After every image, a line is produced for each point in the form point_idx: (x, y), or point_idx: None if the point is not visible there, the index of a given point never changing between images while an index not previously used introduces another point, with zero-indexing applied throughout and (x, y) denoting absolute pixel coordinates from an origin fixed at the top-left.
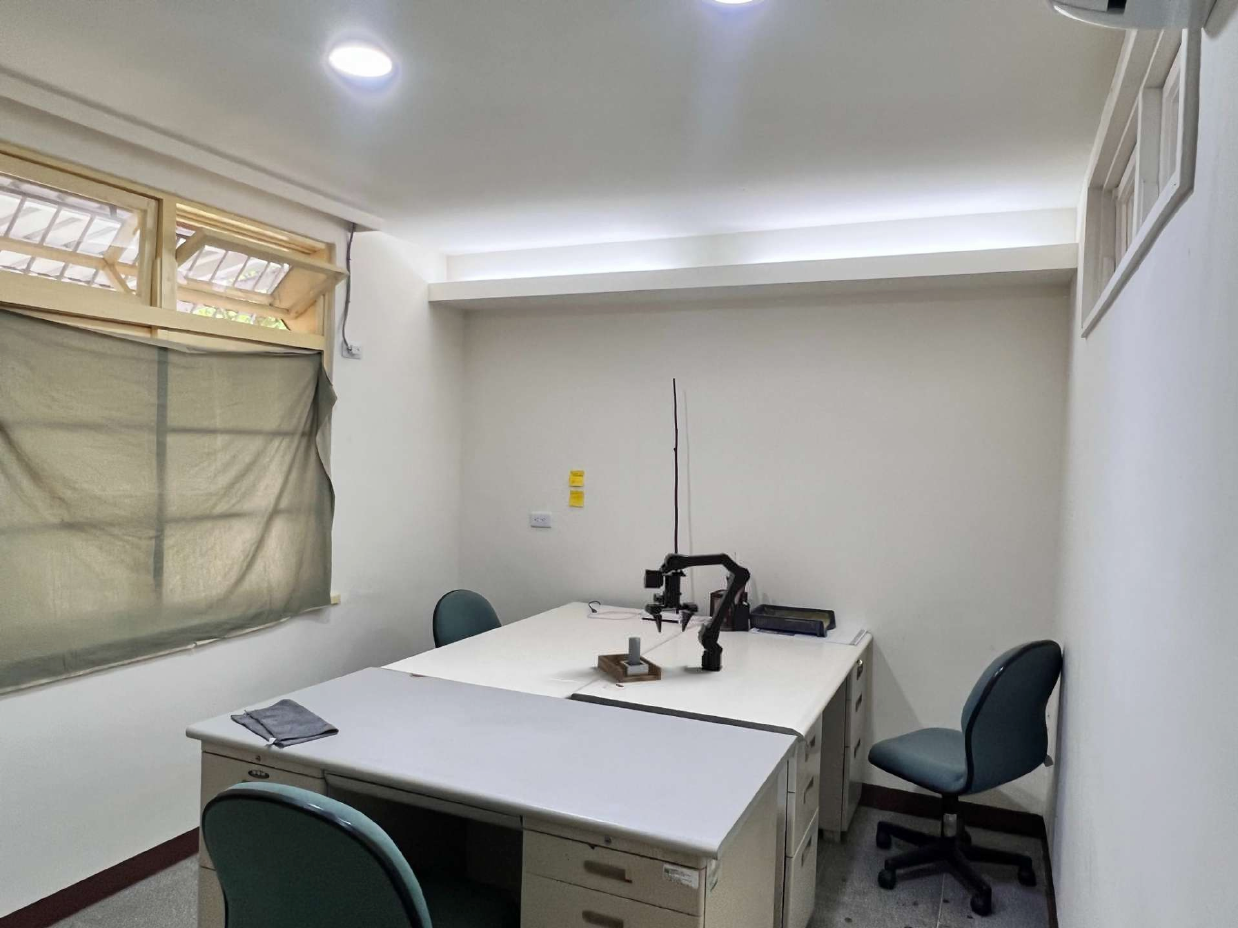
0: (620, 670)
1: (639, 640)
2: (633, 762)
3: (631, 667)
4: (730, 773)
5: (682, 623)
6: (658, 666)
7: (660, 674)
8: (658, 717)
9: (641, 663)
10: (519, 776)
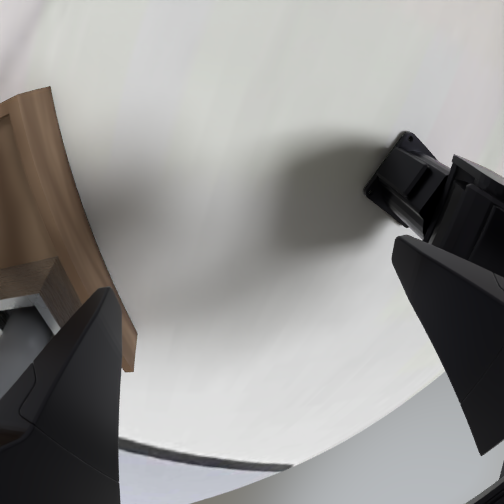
0: None
1: None
2: None
3: None
4: (186, 497)
5: (448, 288)
6: (123, 358)
7: (133, 351)
8: (128, 457)
9: (53, 329)
10: None
